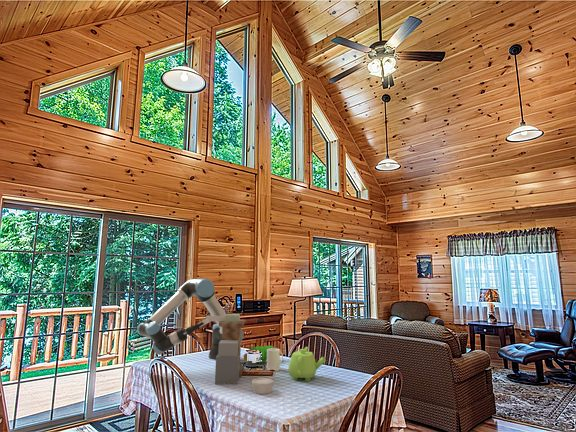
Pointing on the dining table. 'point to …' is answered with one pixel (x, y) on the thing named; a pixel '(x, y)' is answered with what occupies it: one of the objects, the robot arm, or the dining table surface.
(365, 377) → the dining table surface
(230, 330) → the walnut stand
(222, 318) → the handled block
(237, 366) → the stepped grey block
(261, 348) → the decorative tree
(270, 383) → the ramekin
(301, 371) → the teapot
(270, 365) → the mug
